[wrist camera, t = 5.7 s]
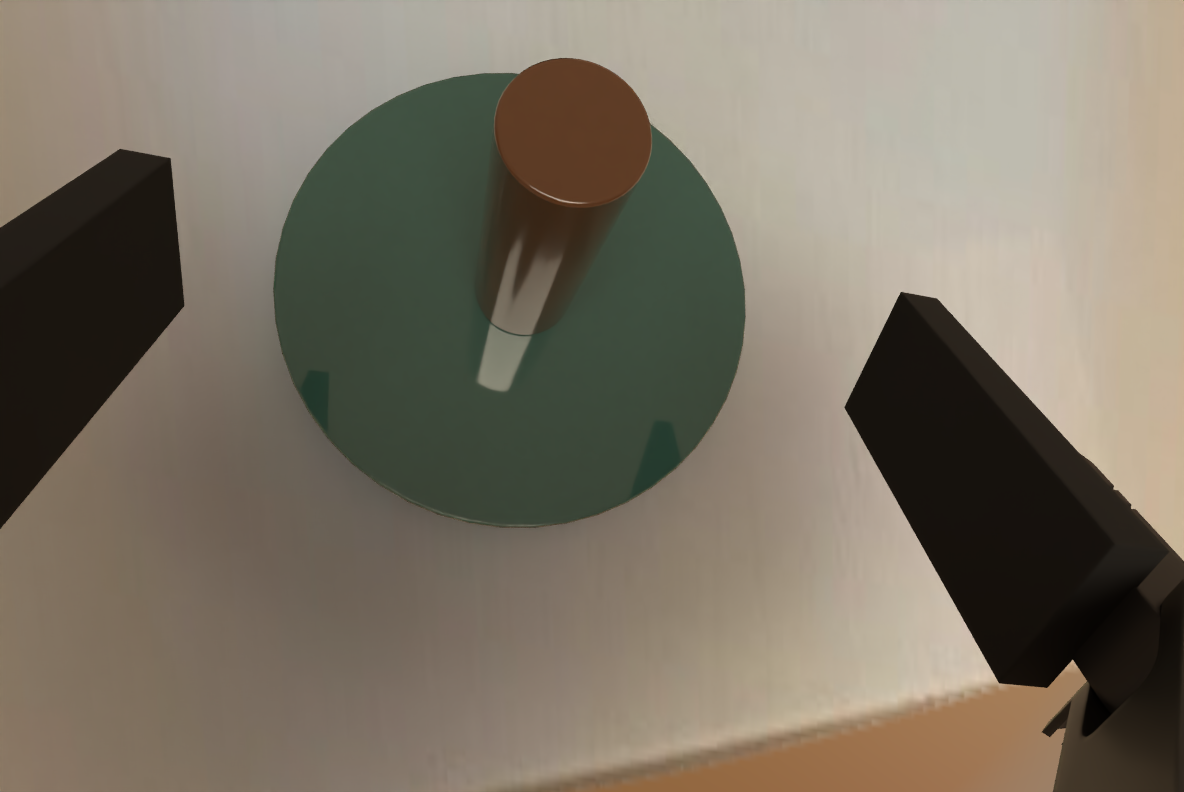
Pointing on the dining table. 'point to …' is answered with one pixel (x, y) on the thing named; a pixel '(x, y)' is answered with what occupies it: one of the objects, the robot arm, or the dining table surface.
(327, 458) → the dining table surface
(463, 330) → the jar lid
